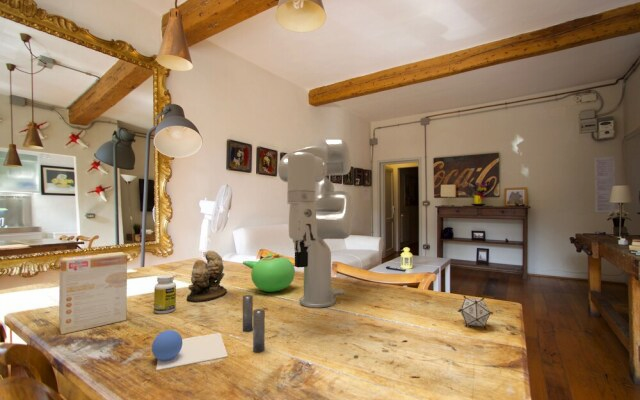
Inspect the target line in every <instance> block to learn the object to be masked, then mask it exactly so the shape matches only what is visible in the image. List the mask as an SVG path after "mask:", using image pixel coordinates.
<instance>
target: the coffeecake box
mask: <svg viewBox="0 0 640 400" xmlns="http://www.w3.org/2000/svg"><path fill="white" fill-rule="evenodd" d="M127 273H128V254H127V253H125V252H123V251H117V252H108V253H97V254H96V253H95V254H86V255H76V256H75V255H74V256H63V257H60V259H59V289H58V290H59V291H58V292H59V298H58V299H59V301H58V302H59V303H58V305H59V308H58V315H59V316H58V329H59V331H60V334H61V335H65V334H71V333H76V332H78V331H83V330H87V329H92V328H96V327H101V326H106V325H110V324H114V323H119V322H124V321H127V316H128V315H127V314H128V313H127V311H128V310H127V308H128V307H127V306H128V304H127V299H128V297H127V296H128V295H127V293H128V292H127V290H128V280H127V279H128V275H127Z"/></svg>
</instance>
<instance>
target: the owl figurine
mask: <svg viewBox="0 0 640 400" xmlns="http://www.w3.org/2000/svg"><path fill="white" fill-rule="evenodd" d="M205 260H207V262H206V261H205ZM205 260H201V259H197V260H195V261H194V264H193V266H192V269H191V270H192V271H191V277H190V281H191V283H192V284H189V285H188V288H187V289H188V290H189V291H190V293H189V294H188V295H187V296H186V301H187V302H189V303H195V304H196V303H205V302H209V301H214V300H217V299H220V298H222V297H224V296H225V295H226V294H227V288H225V287H224V286H223V285H221V281H222V279H223V278H224V276H225V274H226V273H224V269H225V266H224V263H223V258H222V257H221V256H220V254H219V253H218V252H216V251H214V250H207V251H206V253H205Z"/></svg>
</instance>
